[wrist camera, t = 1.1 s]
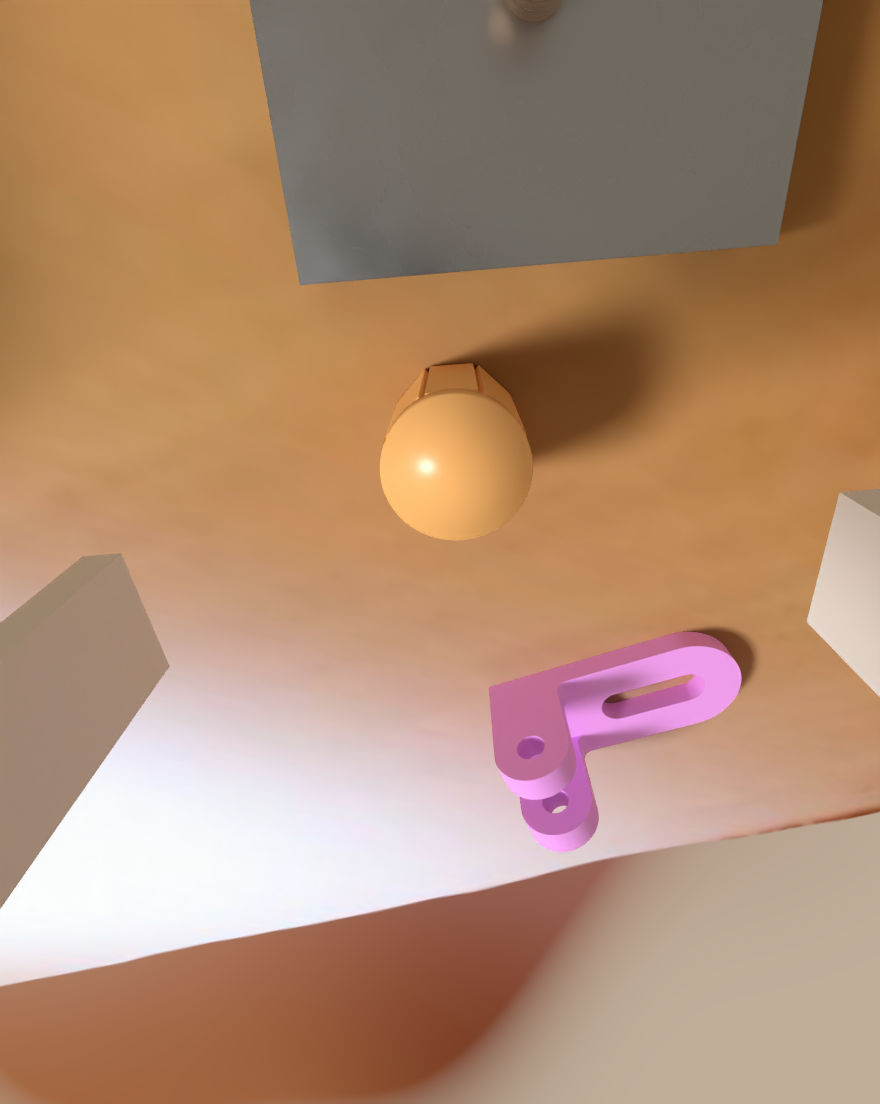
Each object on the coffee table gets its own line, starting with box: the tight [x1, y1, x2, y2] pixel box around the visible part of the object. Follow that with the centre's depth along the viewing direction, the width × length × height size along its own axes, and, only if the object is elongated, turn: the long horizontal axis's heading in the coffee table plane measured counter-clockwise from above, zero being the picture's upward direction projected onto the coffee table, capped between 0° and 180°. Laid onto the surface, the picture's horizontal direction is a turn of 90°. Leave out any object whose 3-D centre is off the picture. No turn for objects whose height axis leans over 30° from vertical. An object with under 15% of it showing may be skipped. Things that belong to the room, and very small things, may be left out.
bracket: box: [489, 632, 741, 852], centre depth 28 cm, size 13×6×7 cm, turn 112°
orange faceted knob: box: [380, 363, 533, 540], centre depth 21 cm, size 5×5×6 cm
